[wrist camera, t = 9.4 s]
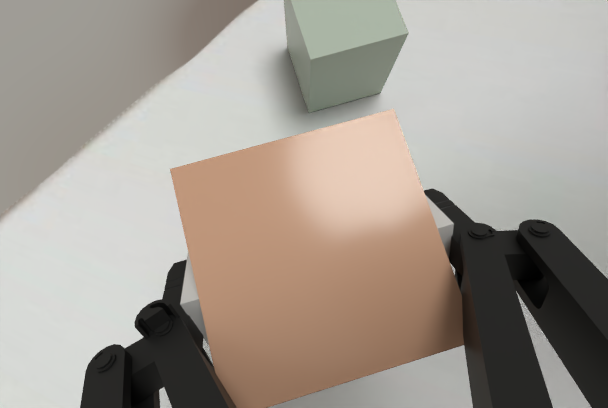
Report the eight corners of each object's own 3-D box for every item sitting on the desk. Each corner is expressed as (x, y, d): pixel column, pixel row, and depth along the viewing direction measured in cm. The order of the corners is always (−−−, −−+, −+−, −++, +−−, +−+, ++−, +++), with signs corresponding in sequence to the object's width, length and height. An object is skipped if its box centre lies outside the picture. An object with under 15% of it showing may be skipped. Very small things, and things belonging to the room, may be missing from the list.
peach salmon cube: (352, 175, 22) (393, 108, 12) (393, 301, 21) (478, 340, 11) (230, 209, 22) (170, 169, 12) (263, 341, 20) (225, 420, 10)
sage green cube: (356, 28, 38) (375, -50, 29) (380, 92, 37) (408, 32, 27) (287, 47, 38) (281, -27, 28) (308, 112, 37) (310, 59, 27)
